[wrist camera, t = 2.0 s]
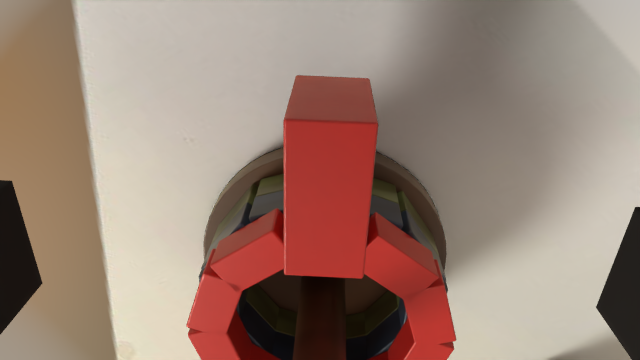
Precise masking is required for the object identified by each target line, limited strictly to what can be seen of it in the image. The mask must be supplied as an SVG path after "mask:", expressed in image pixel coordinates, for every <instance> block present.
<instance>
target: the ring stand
mask: <svg viewBox="0 0 640 360" xmlns="http://www.w3.org/2000/svg"><path fill="white" fill-rule="evenodd" d="M276 208H278V209H279V210H280V211H281V212H282V214H283V215H284V147H283V148H280V149H277V150H275V151H272V152H270V153H267V154H265V155H263V156H261V157H260V158H258V159H256V160H254V161H253V162H251V163H250V164H248V165H247V166H246V167H244V168H243V169H242V170H240V171H239V172H238V173H237V174H236V175H235V176H234V177H233V178H232V179H231V180H230V181H229V183H228V184H227V185H226V187H225V188H224V190H223V191H222V192H221V194H220V196H219V198H218V200H217V202H216V204H215V206H214V208H213V211H212V213H211V215H210V217H209V221H208V224H207V227H206V230H205V237H204V263H203V265H202V268H201V269H202V270H201V272H200V275H199V283H200V280H201V277H202V274H203V271H204V269H205V266H206V264H207V261H208V258H209V256H210V253H211V251H212V249H216V248H217V245H218V243H219V241H221V240H222V239H224V238H226V237H227V236H229V235H231V234H233V233H234V232H236V231H238V230H240V229H241V228H243V227H245V226H246V225H248V224H250V223H252V222H253V221H255V220H257V219H259V218H260V217H262V216H264V215H265V214H267V213H269V212H271V211H272V210H274V209H276ZM375 212H377V213H378V214H379V215H381V216H382V217H384V218H385V219H387V220H388V221H389V222H391V223H392V224H394V225H395V226H396V227H398V228H399V229H401V230H402V231H403V232H405V233H406V234H408V235H409V236H410V237H412V238H413V239H415V240H416V241H418V242H419V243H420V244H422V245H423V246H425V247H426V248H427V249H429V250H430V251H431V252H432V255H433V258H434V259H437V261H438V264H439V267H440V271H441V274H442V278H443V281H444V285H445V289H446V294H447V291H448V288H447V284H446V278H445V274H444V269H445V262H446V241H445V236H444V232H443V228H442V225H441V222H440V219H439V216H438V213H437V211H436V208H435V206H434V203H433V201H432V200H431V198H430V196H429V195H428V193H427V191H426V190H425V189H424V188H423V186H422V185H421V184H420V183H419V181H418V180H417V179H416V178H415V177H414V176H413V175H411V174H410V173H409V172H408V171H407V170H406V169H405V168H403V167H402V166H400V165H399V164H397V163H396V162H395V161H393V160H391V159H389V158H387V157H385V156H383V155H382V154H380V153H377V152H376V154H375V164H374V175H373V185H372V195H371V205H370V216H369V218H370V217H371V216H372V215H373V214H374V213H375ZM236 311H237V313H238V315H239V317H240V319H241V321H242V323H243V325H244V327H245V329H246V331H247V334H248V336H249V338H250V340H251V342H252V343H253V344H254V345H256V346H258V347H260V348H261V349H263V350H265V351H267V352H269V353H270V354H272V355H274V356H276V357H277V358H279V359H281V360H367V359H370V358H372V357H374V356H377V355H379V354H381V353H384V352H386V351H388V349H389V348H390V346H391V345H392V343H393V341H394V340H395V338H396V336H397V335H398V333H399V331H400V330H401V328H402V326H403V325H404V323H405V322H406V320H407V318H408V317H407V313H406V309H405V306H404V302H403V299H402V298H400V297H399V296H397V295H396V294H394V293H393V292H391V291H390V290H388V289H387V288H385V287H384V286H382V285H381V284H379V283H378V282H376V281H375V280H373V279H372V278H370V277H369V276H367V275H365V274H364V277H363V278H362V279H359V278H339V277H319V276H298V275H285V274H284V269H283V270H281V271H279V272H277V273H275V274H273V275H271V276H269V277H268V278H266V279H264V280H262V281H260V282H258V283H256V284H254V285H252V286H251V287H249V288H247V289H245V290H243V292H242V294H241V297H240V300H239V302H238V305H237V308H236Z"/></svg>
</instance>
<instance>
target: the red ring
mask: <svg viewBox="0 0 640 360" xmlns="http://www.w3.org/2000/svg"><path fill="white" fill-rule="evenodd" d="M377 133H378V121H377V115H376V110H375V105H374V100H373V95H372V90H371V84H370V80H369V79H368V78H347V77H324V76H301V75H297V76H296V78H295V81H294V85H293V88H292V92H291V96H290V99H289V103H288V106H287V110H286V113H285V117H284V215H283V214H282V212H281V211H280V210H279V209H278V208H276V209H274V210H272V211H271V212H269V213H267V214H265V215H264V216H262V217H260V218H259V219H257V220H255V221H253V222H252V223H250V224H248V225H246V226H245V227H243V228H241V229H240V230H238V231H236V232H234V233H233V234H231V235H229V236H227V237H226V238H224V239H222V240H221V241H219V243H218V245H217V248H216V249H212V251H211V253H210V256H209V258H208V261H207V264H206V266H205V269H204V271H203V274H202V277H201V280H200V284H199V287H198V290H197V293H196V296H195V300H194V303H193V306H192V309H191V312H190V315H189V319H188V322H187V327H188V328H190V330H189V332H188V337H189V338H190V340H191V342H192V344H193V346H194V347H195V349H196V351H197V353H198V354H199V356H200V358H201V360H281V359H279V358H277V357H276V356H274V355H272V354H270V353H269V352H267V351H265V350H263V349H261V348H260V347H258V346H256V345H254V344H253V343H252V342H251V340H250V338H249V336H248V334H247V331H246V329H245V327H244V325H243V323H242V321H241V319H240V317H239V315H238V313H237V311H236V308H237V305H238V302H239V300H240V297H241V294H242V292H243V290H245V289H247V288H249V287H251V286H252V285H254V284H256V283H258V282H260V281H262V280H264V279H266V278H268V277H269V276H271V275H273V274H275V273H277V272H279V271H281V270H283V269H284V274H285V275H298V276H319V277H339V278H359V279H362V278H363V277H364V274H365V275H367V276H369V277H370V278H372V279H373V280H375V281H376V282H378V283H379V284H381V285H382V286H384V287H385V288H387V289H388V290H390V291H391V292H393V293H394V294H396V295H397V296H399V297H400V298H402V299H403V302H404V306H405V309H406V313H407V317H408V318H407V320H406V322H405V323H404V325H403V326H402V328H401V330H400V331H399V333H398V335H397V336H396V338H395V340H394V341H393V343H392V345H391V346H390V348H389V349H388V351H386V352H384V353H381V354H379V355H377V356H374V357H372V358H370V359H367V360H447V358H448V357H449V356H450V354H451V353H452V351H453V350H454V346H453V341H456V336H455V331H454V326H453V322H452V317H451V312H450V308H449V303H448V298H447V294H446V289H445V285H444V281H443V278H442V274H441V271H440V267H439V264H438V261H437V259H434V258H433V255H432V252H431V251H430V250H429V249H427V248H426V247H425V246H423V245H422V244H420V243H419V242H418V241H416V240H415V239H413V238H412V237H410V236H409V235H408V234H406V233H405V232H403V231H402V230H401V229H399V228H398V227H396V226H395V225H394V224H392V223H391V222H389V221H388V220H387V219H385V218H384V217H382V216H381V215H379V214H378V213H377V212H375V213H374V214H373V215H372V216H371V217H370V218H369V216H370V205H371V195H372V185H373V175H374V164H375V154H376V144H377Z"/></svg>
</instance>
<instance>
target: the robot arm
mask: <svg viewBox="0 0 640 360" xmlns="http://www.w3.org/2000/svg"><path fill="white" fill-rule="evenodd" d="M41 284H42V281H41V277H40V274H39V270H38V267H37V264H36V261H35V257H34V253H33V250H32V247H31V243H30V240H29V237H28V234H27V230H26V227H25V224H24V220H23V217H22V213H21V210H20V207H19V203H18V200H17V197H16V194H15V190H14V187H13V183H12V181H2V180H0V334H1V333H2V332H3V330H4V329H5V328H6V327H7V326H8V325H9V323H10V322H11V321H12V320H13V318H14V317H15V316H16V315H17V314H18V312H19V311H20V310H21V309H22V308H23V306H24V305H25V304H26V303H27V301H28V300H29V299H30V298H31V297H32V295H33V294H34V293H35V292H36V290H37V289H38V288H39V287H40V285H41ZM596 308H597V309H598V311H599V312H600V314H601V315H602V317H603V318H604V320H605V321H606V323H607V324H608V326H609V327H610V328H611V330H612V331H613V333H614V334H615V336H616V337H617V339H618V340H619V342H620V343H621V345H622V346H623V347H624V349H625V350H626V352H627V353H628V355H629V356H630V358H631V359H632V360H640V207H635V209H634V212H633V214H632V217H631V220H630V222H629V225H628V227H627V230H626V232H625V235H624V237H623V240H622V243H621V245H620V248H619V250H618V253H617V255H616V258H615V260H614V263H613V265H612V268H611V271H610V273H609V276H608V278H607V281H606V283H605V286H604V288H603V291H602V294H601V296H600V299H599V301H598V304H597V306H596Z"/></svg>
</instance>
